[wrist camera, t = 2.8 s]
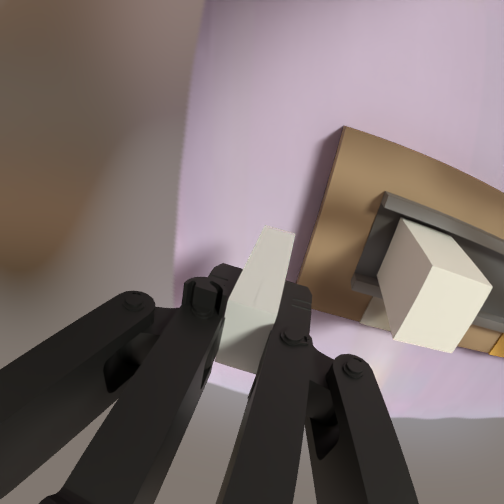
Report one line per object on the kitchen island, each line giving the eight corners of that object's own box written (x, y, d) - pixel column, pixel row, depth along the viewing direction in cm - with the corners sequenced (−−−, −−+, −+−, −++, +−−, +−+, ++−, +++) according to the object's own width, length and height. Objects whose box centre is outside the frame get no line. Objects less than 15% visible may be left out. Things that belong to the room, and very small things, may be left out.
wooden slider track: (343, 125, 19) (348, 127, 16) (586, 247, 16) (603, 261, 14) (293, 288, 25) (289, 312, 22) (528, 350, 22) (539, 370, 19)
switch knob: (400, 217, 18) (432, 265, 12) (450, 235, 18) (492, 286, 12) (376, 275, 20) (392, 339, 14) (424, 289, 20) (451, 353, 14)
